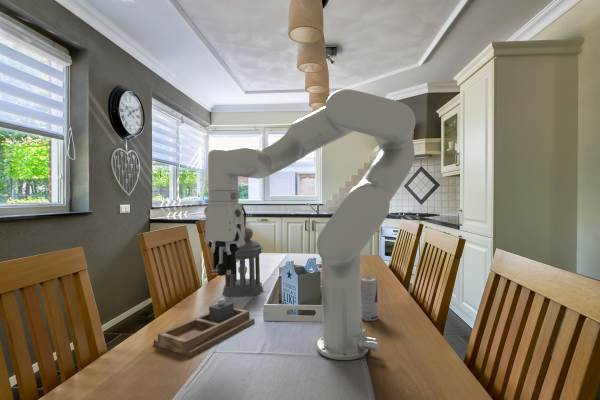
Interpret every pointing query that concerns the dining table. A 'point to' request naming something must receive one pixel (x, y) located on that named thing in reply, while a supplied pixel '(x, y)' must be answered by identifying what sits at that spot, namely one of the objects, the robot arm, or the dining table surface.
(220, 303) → the plug block
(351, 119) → the robot arm
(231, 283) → the lantern
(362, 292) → the energy drink
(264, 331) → the dining table surface
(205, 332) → the brown wooden divided tray
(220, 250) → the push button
